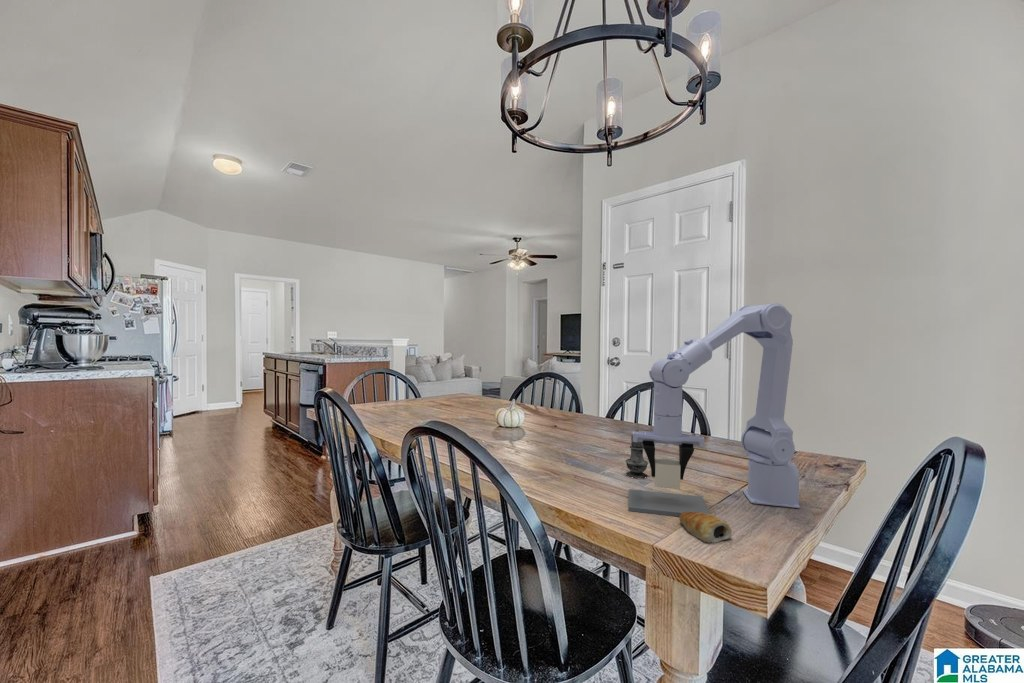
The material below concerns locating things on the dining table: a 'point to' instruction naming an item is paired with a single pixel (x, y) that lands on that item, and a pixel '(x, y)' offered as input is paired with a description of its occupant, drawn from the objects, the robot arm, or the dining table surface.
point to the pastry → (706, 526)
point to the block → (667, 473)
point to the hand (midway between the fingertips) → (666, 476)
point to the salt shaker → (636, 460)
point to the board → (665, 503)
